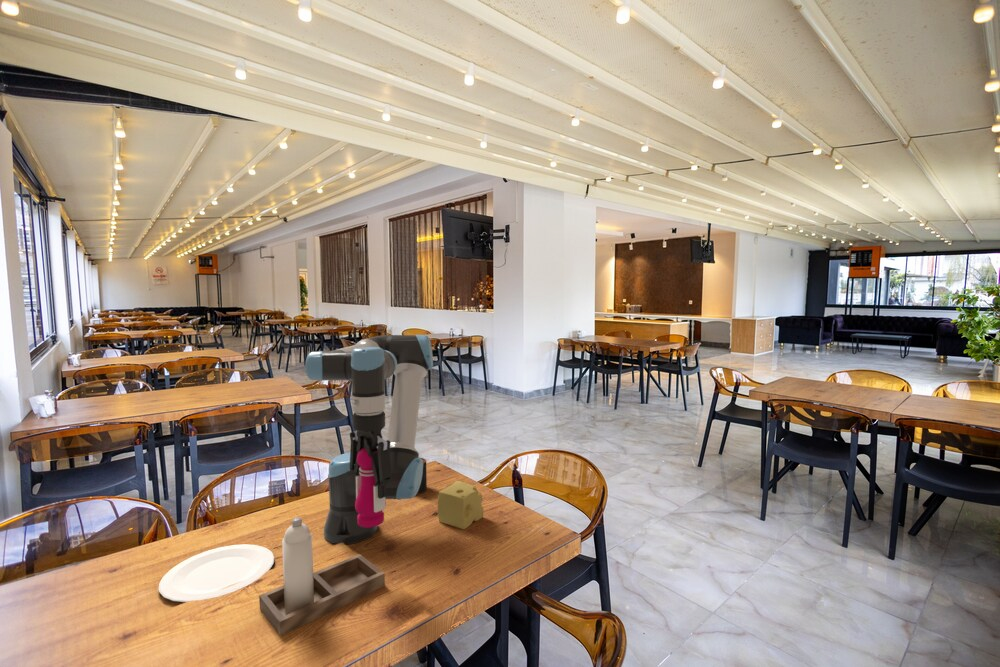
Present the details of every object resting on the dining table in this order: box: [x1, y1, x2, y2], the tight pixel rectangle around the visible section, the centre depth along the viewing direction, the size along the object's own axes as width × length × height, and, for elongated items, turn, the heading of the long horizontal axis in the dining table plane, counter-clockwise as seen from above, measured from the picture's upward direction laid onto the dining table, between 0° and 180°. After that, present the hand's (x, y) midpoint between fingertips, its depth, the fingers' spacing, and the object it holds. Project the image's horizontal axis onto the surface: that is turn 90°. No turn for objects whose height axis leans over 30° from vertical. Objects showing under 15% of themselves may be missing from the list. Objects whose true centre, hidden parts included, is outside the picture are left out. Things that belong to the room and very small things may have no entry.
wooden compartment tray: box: [258, 553, 386, 637], centre depth 109 cm, size 24×12×4 cm, turn 135°
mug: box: [416, 457, 428, 495], centre depth 170 cm, size 8×12×10 cm
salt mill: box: [281, 517, 314, 615], centre depth 104 cm, size 6×6×20 cm
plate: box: [158, 543, 275, 603], centre depth 119 cm, size 25×25×2 cm
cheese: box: [437, 480, 485, 530], centre depth 149 cm, size 10×11×10 cm
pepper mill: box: [355, 449, 387, 527], centre depth 115 cm, size 7×7×20 cm
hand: (370, 505), depth 115 cm, fingers closed on pepper mill, 7 cm apart
